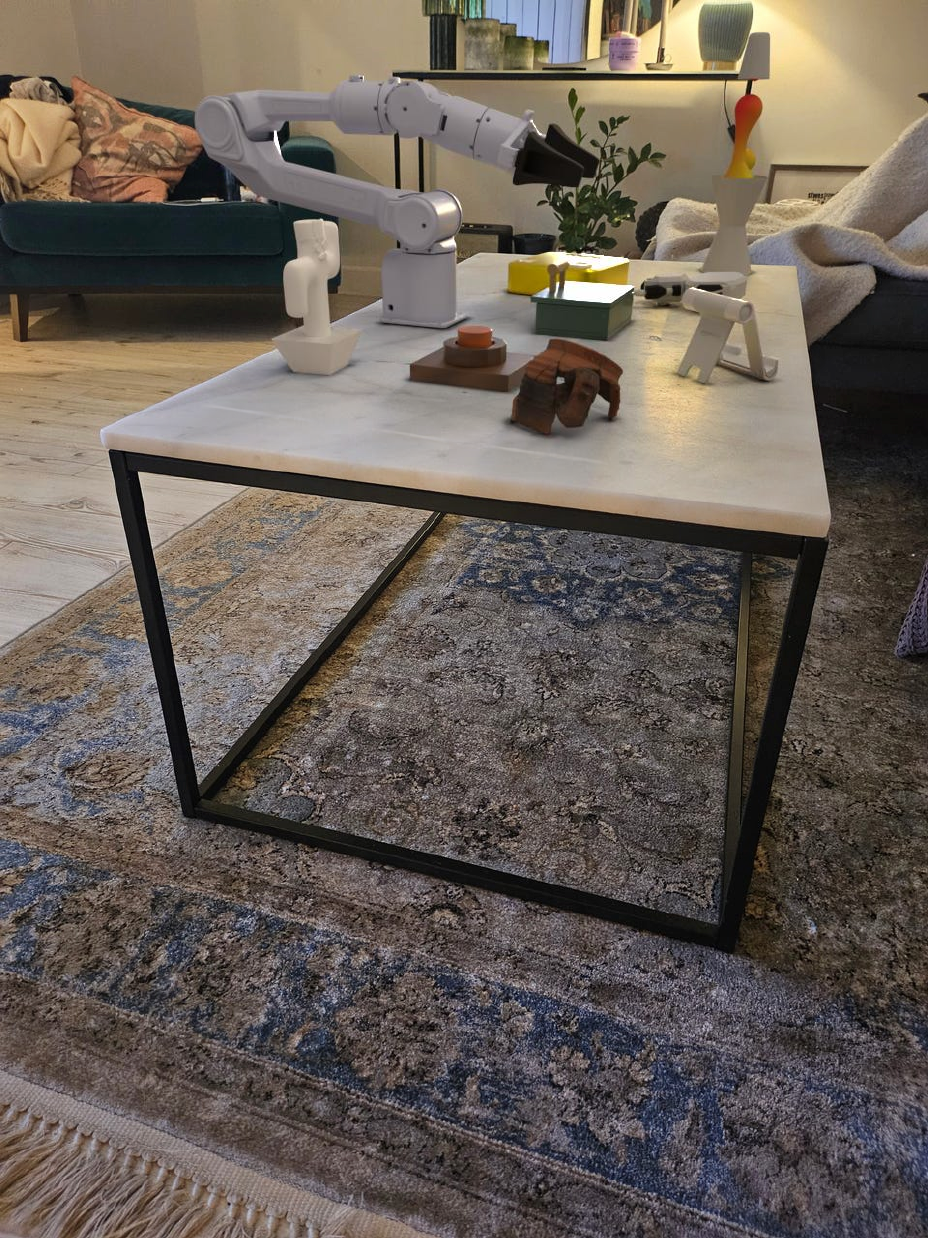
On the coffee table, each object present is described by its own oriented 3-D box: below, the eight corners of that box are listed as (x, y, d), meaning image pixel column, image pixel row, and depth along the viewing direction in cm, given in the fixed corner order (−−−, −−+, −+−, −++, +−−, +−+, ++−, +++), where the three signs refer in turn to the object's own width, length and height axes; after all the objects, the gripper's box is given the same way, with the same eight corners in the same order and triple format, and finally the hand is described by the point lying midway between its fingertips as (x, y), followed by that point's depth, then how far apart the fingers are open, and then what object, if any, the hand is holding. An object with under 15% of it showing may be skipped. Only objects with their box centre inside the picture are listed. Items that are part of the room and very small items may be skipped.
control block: (409, 380, 92) (408, 346, 90) (444, 360, 99) (444, 328, 97) (507, 392, 88) (508, 357, 87) (536, 371, 95) (538, 338, 94)
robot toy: (629, 315, 125) (737, 316, 120) (629, 281, 123) (740, 280, 117) (649, 300, 135) (750, 300, 129) (650, 268, 133) (753, 267, 127)
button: (452, 348, 91) (452, 331, 90) (465, 341, 94) (465, 324, 93) (484, 351, 90) (484, 334, 89) (496, 344, 93) (497, 327, 92)
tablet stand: (775, 380, 93) (791, 297, 88) (717, 389, 90) (730, 303, 85) (721, 361, 99) (732, 283, 95) (665, 369, 96) (674, 289, 92)
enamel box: (534, 333, 111) (536, 303, 109) (564, 315, 121) (565, 286, 119) (607, 340, 108) (609, 309, 106) (631, 321, 118) (634, 292, 116)
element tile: (631, 287, 140) (634, 255, 138) (590, 302, 129) (593, 267, 127) (547, 278, 147) (549, 247, 144) (502, 292, 136) (503, 259, 134)
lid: (530, 302, 110) (531, 267, 108) (560, 286, 120) (562, 253, 118) (609, 308, 106) (612, 272, 104) (634, 291, 116) (637, 258, 114)
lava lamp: (743, 277, 149) (781, 29, 131) (692, 272, 153) (722, 31, 136) (759, 270, 155) (797, 33, 138) (709, 265, 160) (740, 35, 142)
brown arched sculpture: (492, 415, 83) (528, 332, 82) (577, 455, 86) (613, 376, 84) (527, 421, 72) (569, 325, 70) (624, 467, 74) (666, 375, 73)
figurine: (269, 376, 93) (252, 222, 86) (311, 355, 101) (299, 212, 93) (330, 382, 91) (318, 225, 84) (368, 361, 99) (361, 215, 91)
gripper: (471, 101, 96) (585, 142, 94) (511, 92, 107) (614, 129, 106) (455, 169, 101) (564, 210, 99) (496, 154, 112) (594, 191, 110)
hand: (589, 173), depth 103 cm, fingers open, 7 cm apart
